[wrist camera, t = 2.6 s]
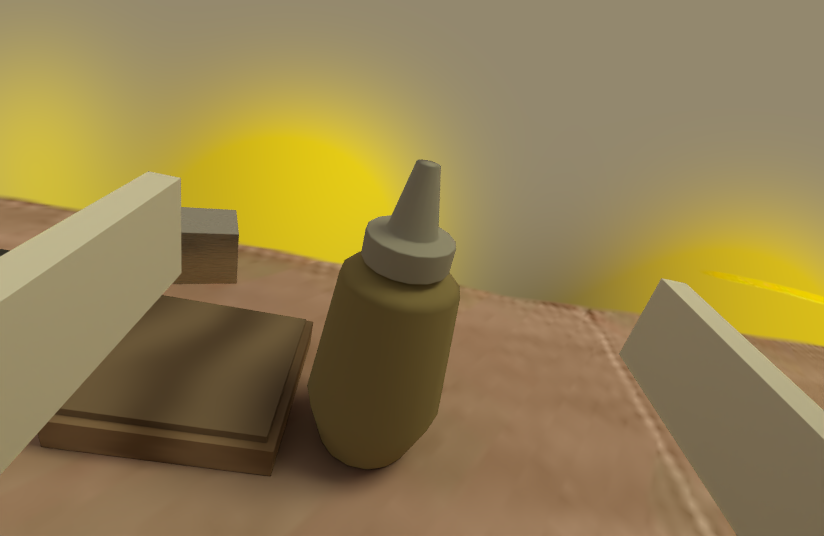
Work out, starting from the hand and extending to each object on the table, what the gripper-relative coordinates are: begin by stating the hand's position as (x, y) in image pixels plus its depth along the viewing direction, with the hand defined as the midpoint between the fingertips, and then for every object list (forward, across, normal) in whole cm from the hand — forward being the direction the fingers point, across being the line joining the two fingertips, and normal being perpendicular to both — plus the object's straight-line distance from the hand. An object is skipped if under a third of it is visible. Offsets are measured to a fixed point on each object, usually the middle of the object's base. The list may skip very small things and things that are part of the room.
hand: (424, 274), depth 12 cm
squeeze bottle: (+10, +1, -18) cm, 20 cm away
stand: (+12, -10, -18) cm, 24 cm away
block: (+26, -15, -18) cm, 35 cm away
